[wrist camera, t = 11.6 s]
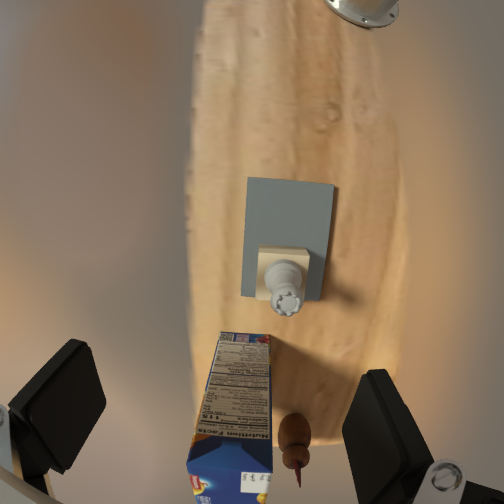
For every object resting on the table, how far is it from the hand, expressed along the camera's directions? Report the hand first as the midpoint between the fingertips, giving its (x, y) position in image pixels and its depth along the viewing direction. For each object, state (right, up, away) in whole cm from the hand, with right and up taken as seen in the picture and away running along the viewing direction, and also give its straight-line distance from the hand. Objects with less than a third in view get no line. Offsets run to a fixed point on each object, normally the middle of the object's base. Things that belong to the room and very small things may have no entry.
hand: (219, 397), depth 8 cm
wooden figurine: (+9, -27, +39) cm, 48 cm away
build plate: (+6, +6, +29) cm, 31 cm away
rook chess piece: (+5, +2, +26) cm, 26 cm away
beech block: (+5, +3, +29) cm, 30 cm away
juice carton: (0, -13, +35) cm, 38 cm away
